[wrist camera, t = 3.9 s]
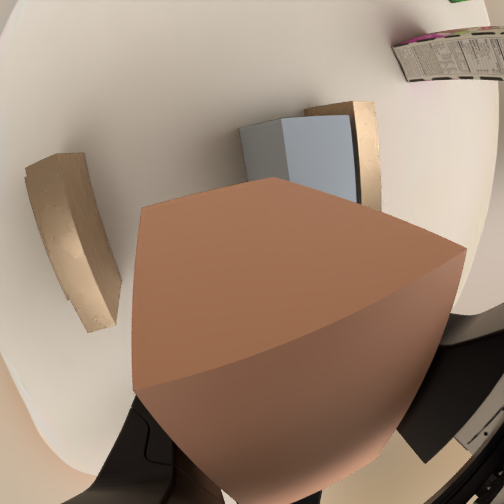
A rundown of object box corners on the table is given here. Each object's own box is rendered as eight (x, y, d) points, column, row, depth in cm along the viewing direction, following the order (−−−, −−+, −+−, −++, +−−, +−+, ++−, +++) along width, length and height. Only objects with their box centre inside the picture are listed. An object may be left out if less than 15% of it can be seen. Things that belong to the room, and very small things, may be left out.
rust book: (289, 347, 13) (376, 458, 6) (200, 378, 11) (255, 516, 5) (273, 176, 9) (467, 248, 3) (141, 207, 8) (133, 390, 2)
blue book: (303, 215, 23) (356, 240, 17) (255, 228, 22) (298, 261, 16) (292, 121, 20) (348, 115, 14) (238, 128, 18) (280, 118, 12)
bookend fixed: (358, 211, 25) (404, 229, 20) (317, 223, 24) (362, 245, 18) (350, 108, 21) (400, 104, 16) (304, 108, 19) (352, 100, 14)
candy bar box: (426, 31, 20) (528, 26, 6) (441, 63, 23) (542, 67, 8) (387, 44, 19) (522, 31, 5) (406, 84, 22) (539, 88, 8)
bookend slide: (122, 280, 19) (115, 325, 14) (69, 296, 18) (51, 342, 13) (84, 152, 15) (56, 153, 10) (27, 176, 14) (-13, 188, 9)
